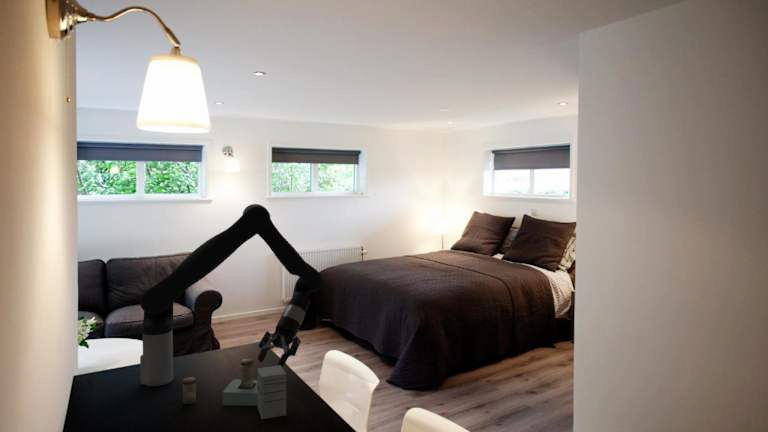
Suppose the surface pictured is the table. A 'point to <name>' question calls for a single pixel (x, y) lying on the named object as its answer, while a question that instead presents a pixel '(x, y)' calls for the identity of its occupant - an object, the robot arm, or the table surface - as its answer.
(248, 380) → the tall pin
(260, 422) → the table surface
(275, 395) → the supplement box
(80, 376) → the table surface
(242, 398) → the socket block
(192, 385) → the short pin
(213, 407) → the table surface
